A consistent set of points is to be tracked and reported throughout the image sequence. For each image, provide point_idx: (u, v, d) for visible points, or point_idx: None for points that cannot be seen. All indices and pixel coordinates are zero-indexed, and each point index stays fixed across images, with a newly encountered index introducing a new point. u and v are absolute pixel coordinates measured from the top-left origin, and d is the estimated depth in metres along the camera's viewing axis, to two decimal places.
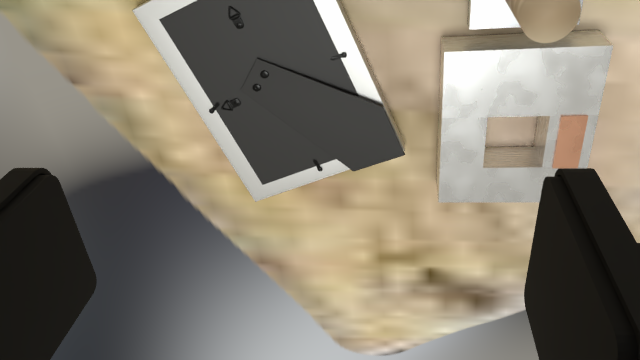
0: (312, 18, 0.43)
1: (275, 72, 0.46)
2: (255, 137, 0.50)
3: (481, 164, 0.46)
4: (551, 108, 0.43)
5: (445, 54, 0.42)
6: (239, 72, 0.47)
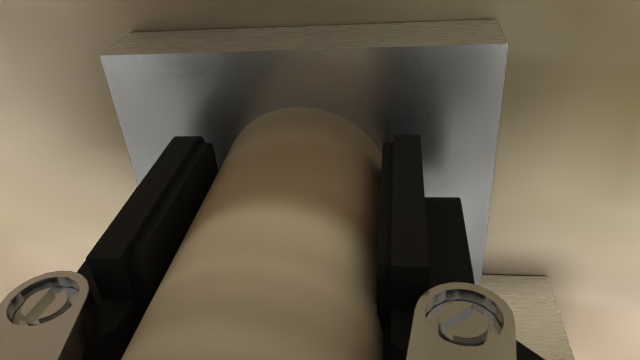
0: None
1: None
2: None
3: None
4: None
5: None
6: None
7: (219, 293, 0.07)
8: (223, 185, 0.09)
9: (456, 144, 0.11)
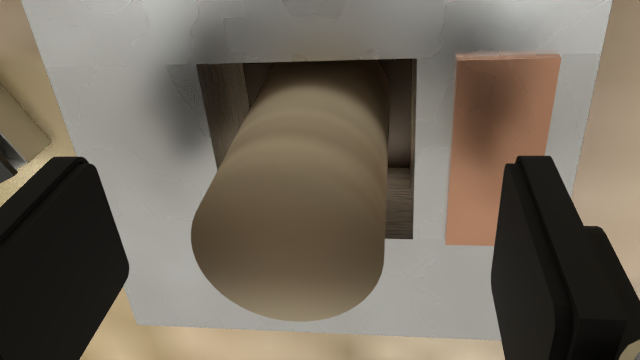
0: None
1: None
2: None
3: None
4: (418, 27, 0.11)
5: None
6: None
7: (282, 125, 0.10)
8: (272, 82, 0.13)
9: None
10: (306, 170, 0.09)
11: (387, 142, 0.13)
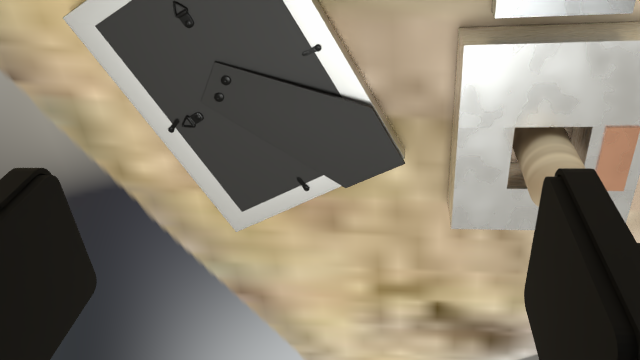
0: (274, 6, 0.35)
1: (238, 76, 0.38)
2: (225, 157, 0.42)
3: (505, 184, 0.38)
4: (595, 117, 0.35)
5: (465, 48, 0.33)
6: (196, 80, 0.39)
7: (555, 149, 0.34)
8: (532, 131, 0.37)
9: None
10: (573, 163, 0.33)
11: None
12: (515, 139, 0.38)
